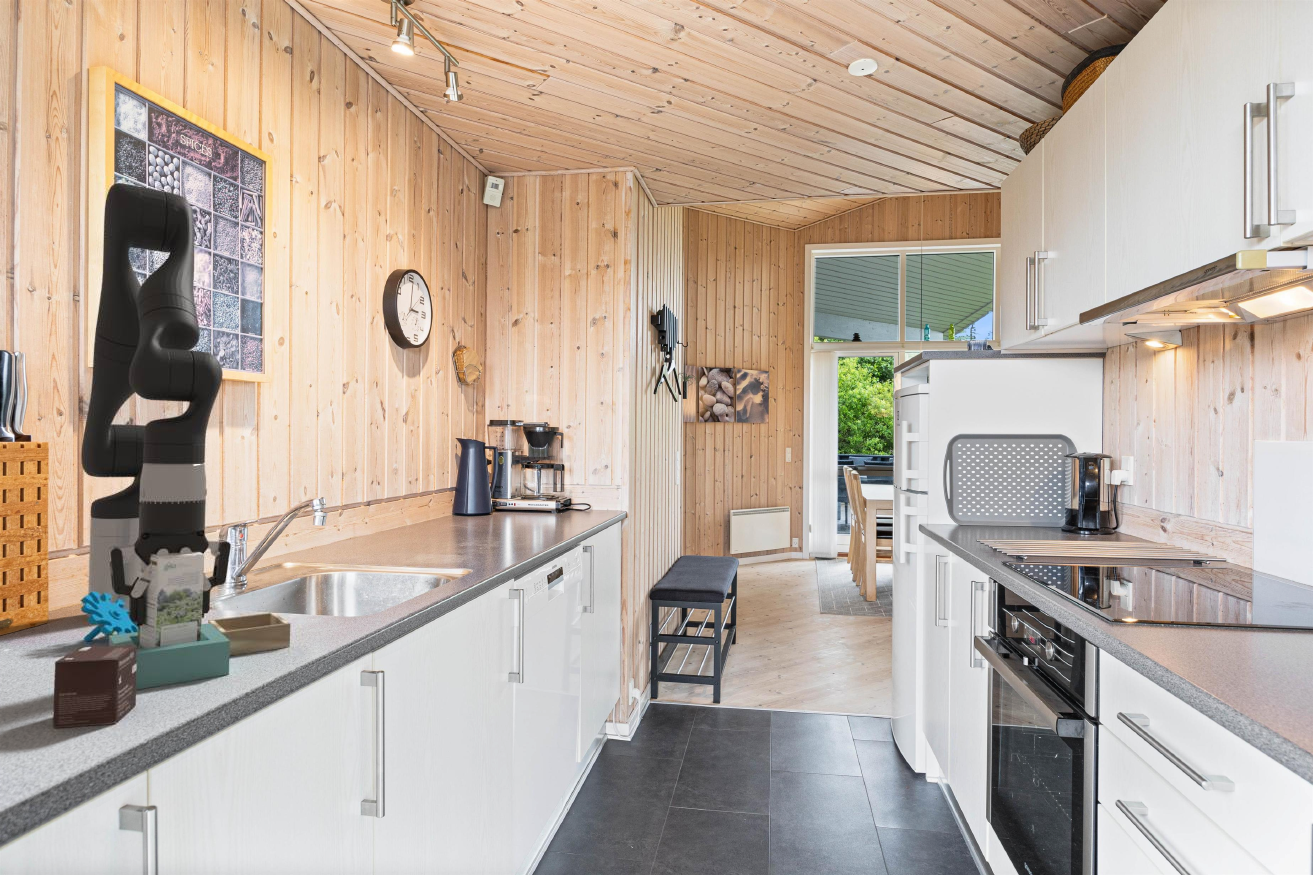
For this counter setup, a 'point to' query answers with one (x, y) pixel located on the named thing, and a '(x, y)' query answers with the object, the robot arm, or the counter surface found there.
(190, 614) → the syrup box
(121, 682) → the box
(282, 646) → the stand collar
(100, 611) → the gear
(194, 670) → the teal square frame
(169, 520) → the robot arm
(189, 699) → the counter surface
